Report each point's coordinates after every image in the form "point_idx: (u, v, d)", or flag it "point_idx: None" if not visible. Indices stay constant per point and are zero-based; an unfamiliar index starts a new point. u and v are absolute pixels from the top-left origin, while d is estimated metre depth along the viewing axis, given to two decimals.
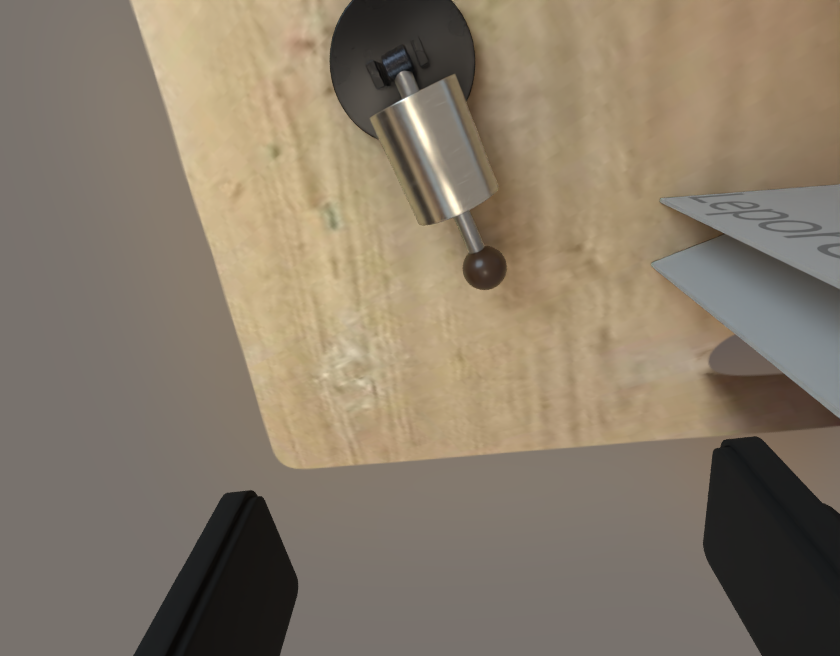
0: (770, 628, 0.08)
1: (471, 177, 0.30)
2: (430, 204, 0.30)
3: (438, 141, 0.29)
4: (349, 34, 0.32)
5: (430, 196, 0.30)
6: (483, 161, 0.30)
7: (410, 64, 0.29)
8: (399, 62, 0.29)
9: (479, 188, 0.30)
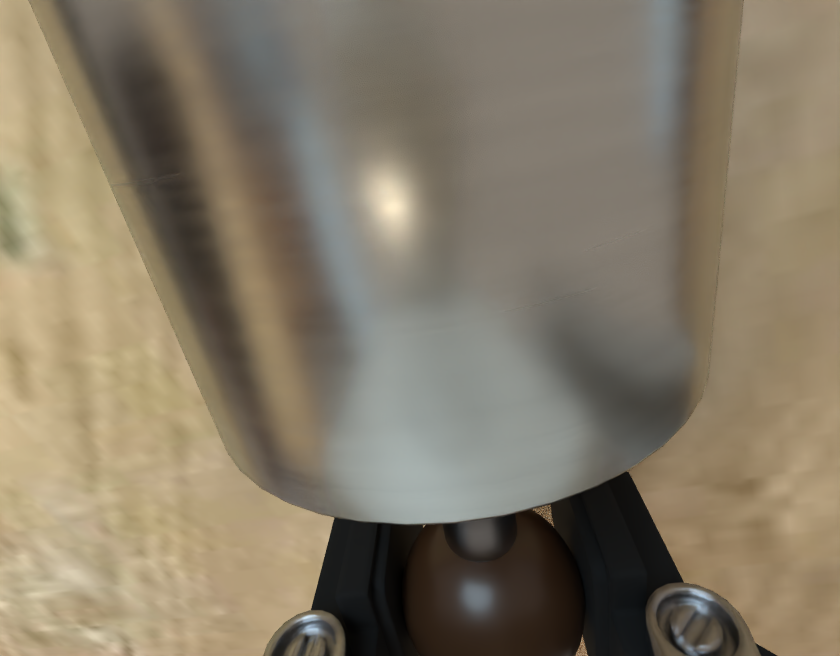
0: None
1: (646, 268, 0.03)
2: (245, 384, 0.04)
3: None
4: None
5: (243, 330, 0.03)
6: (728, 161, 0.04)
7: None
8: None
9: (664, 362, 0.04)
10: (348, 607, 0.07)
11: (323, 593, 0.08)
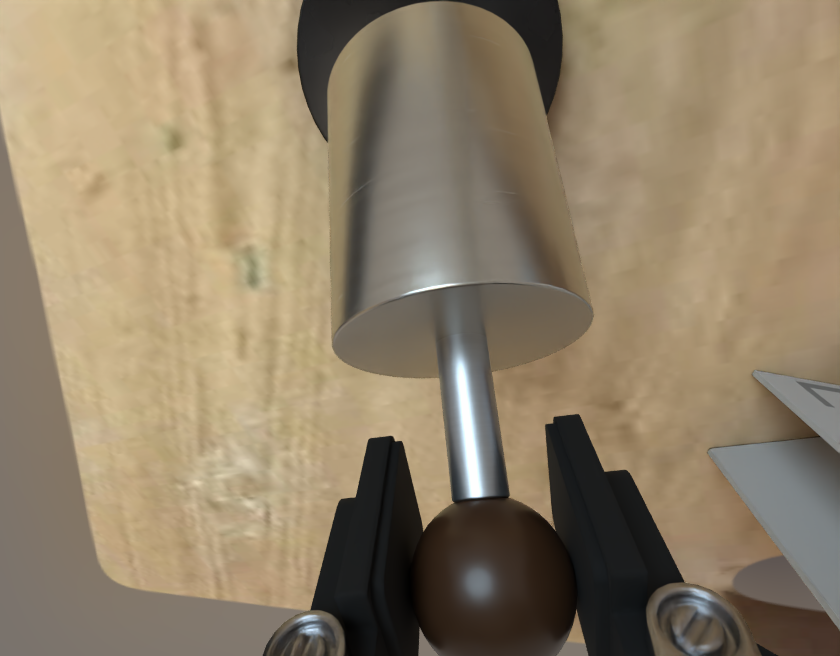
0: None
1: (520, 205, 0.09)
2: (371, 247, 0.09)
3: (452, 92, 0.10)
4: None
5: (378, 222, 0.09)
6: (565, 213, 0.10)
7: None
8: None
9: (538, 245, 0.09)
10: (347, 607, 0.07)
11: (322, 593, 0.08)
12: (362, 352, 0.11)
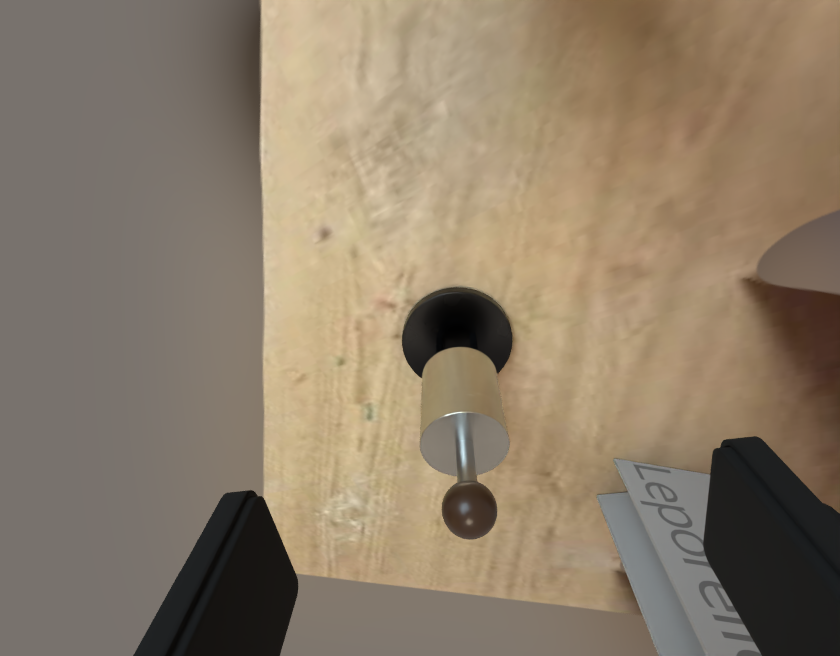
0: (770, 628, 0.08)
1: (481, 397, 0.32)
2: (436, 406, 0.32)
3: (463, 369, 0.34)
4: (425, 315, 0.42)
5: (439, 399, 0.32)
6: (498, 404, 0.33)
7: None
8: None
9: (485, 406, 0.31)
10: None
11: None
12: (429, 447, 0.32)
